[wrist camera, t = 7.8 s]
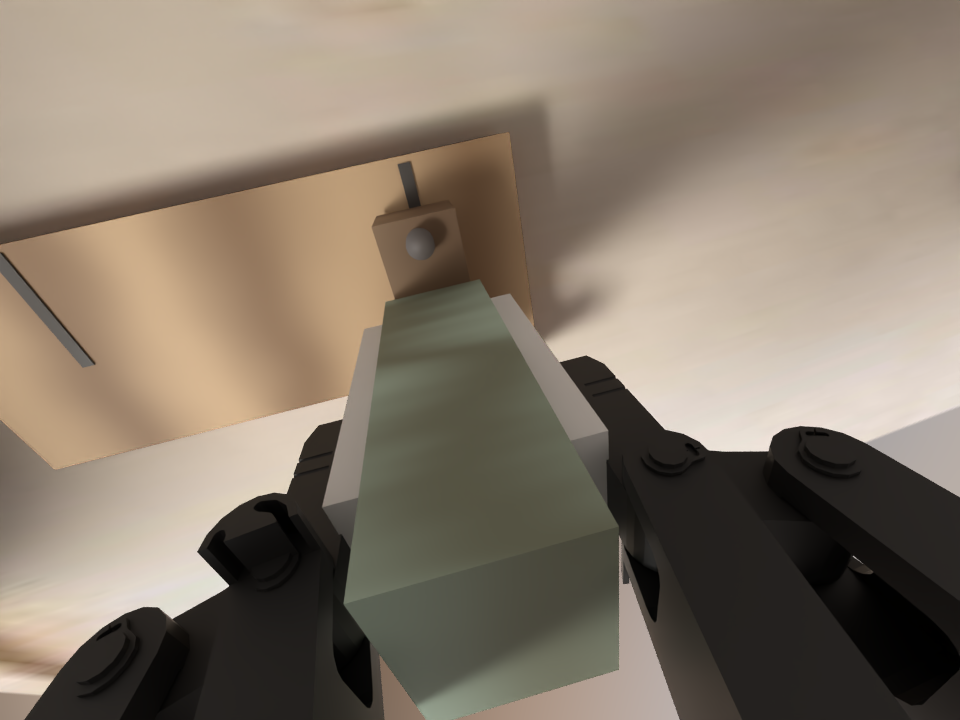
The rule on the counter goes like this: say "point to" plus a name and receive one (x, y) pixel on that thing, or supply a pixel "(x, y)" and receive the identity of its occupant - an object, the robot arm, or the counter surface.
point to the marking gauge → (472, 499)
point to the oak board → (228, 300)
